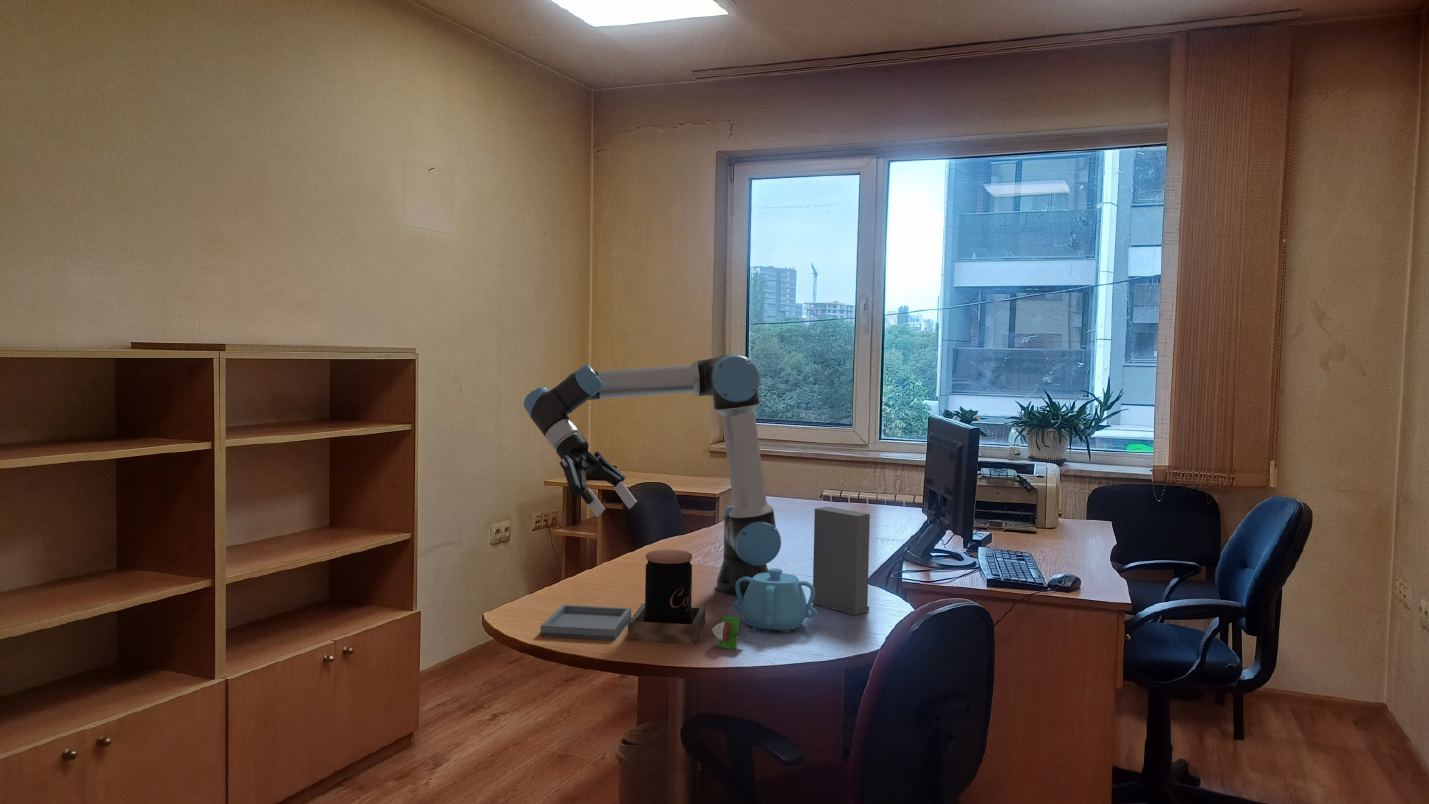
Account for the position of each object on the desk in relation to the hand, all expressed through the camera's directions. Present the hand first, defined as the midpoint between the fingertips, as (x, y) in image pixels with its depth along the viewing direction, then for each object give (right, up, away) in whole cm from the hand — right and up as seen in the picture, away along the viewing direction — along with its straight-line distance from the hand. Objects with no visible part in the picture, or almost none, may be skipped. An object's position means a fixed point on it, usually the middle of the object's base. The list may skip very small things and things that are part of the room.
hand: (617, 509), depth 206 cm
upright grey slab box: (+55, -27, +15) cm, 64 cm away
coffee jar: (+12, -28, -7) cm, 31 cm away
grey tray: (-7, -27, -4) cm, 28 cm away
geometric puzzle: (+26, -28, -16) cm, 42 cm away
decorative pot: (+37, -28, 0) cm, 46 cm away
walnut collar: (+12, -27, -7) cm, 31 cm away
